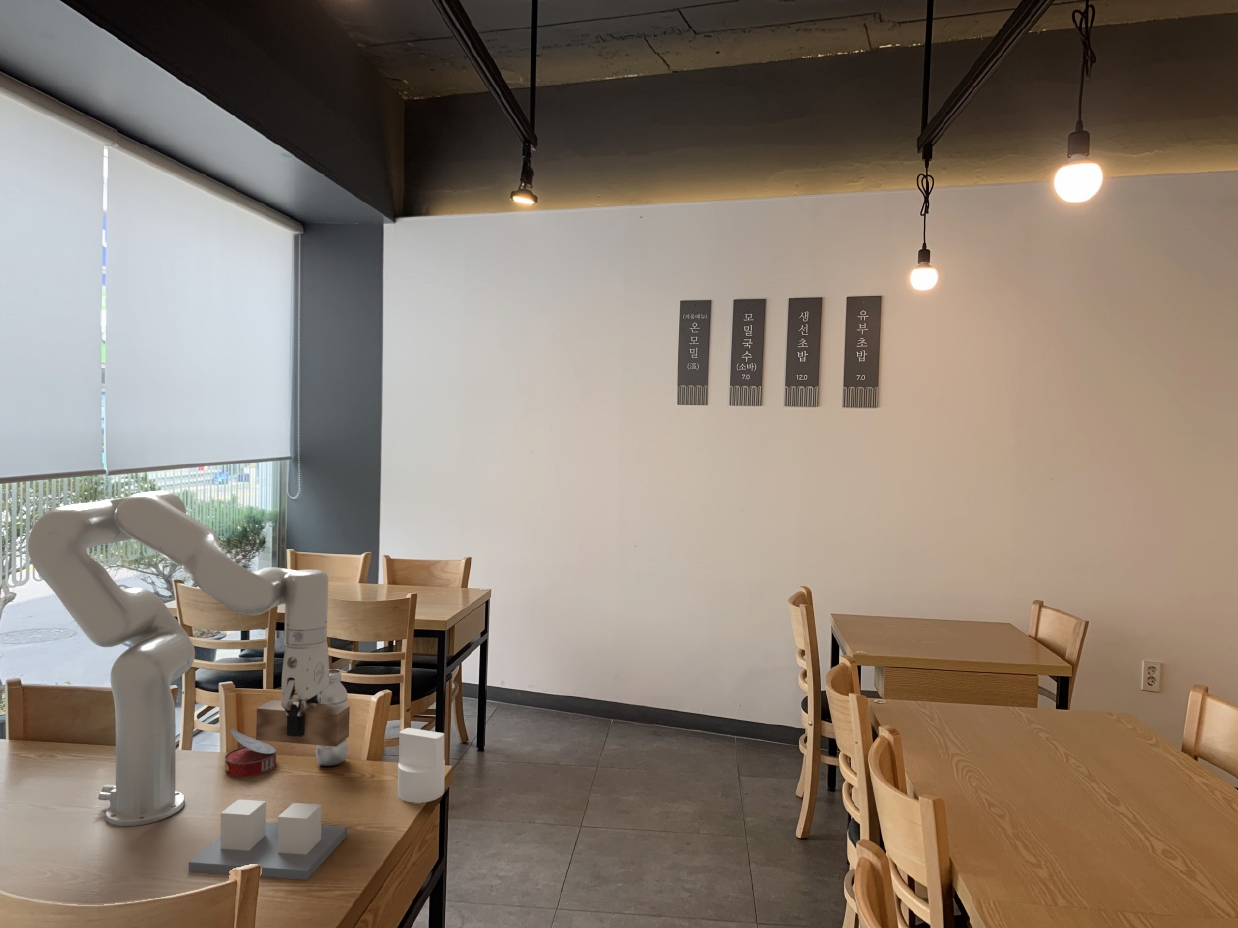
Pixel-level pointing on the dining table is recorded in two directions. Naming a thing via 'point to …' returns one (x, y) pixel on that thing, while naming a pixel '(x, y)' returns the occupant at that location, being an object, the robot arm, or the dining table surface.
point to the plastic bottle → (333, 696)
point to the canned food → (249, 757)
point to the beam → (320, 724)
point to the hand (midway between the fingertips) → (303, 729)
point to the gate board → (270, 841)
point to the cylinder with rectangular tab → (421, 765)
